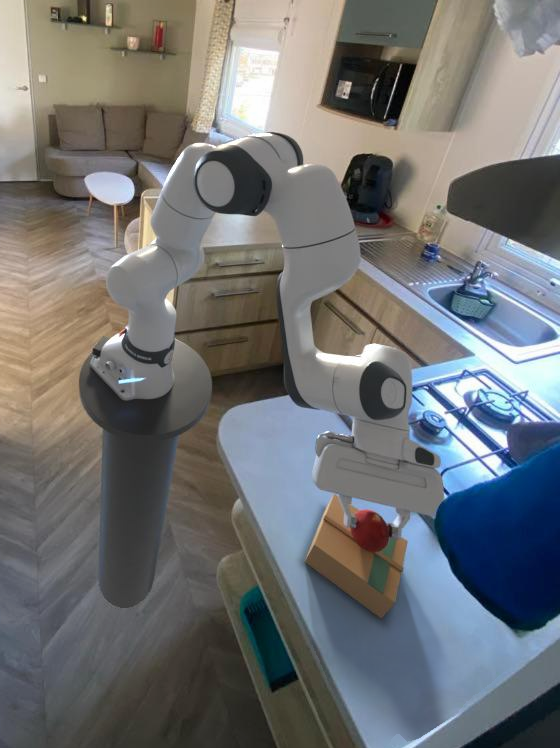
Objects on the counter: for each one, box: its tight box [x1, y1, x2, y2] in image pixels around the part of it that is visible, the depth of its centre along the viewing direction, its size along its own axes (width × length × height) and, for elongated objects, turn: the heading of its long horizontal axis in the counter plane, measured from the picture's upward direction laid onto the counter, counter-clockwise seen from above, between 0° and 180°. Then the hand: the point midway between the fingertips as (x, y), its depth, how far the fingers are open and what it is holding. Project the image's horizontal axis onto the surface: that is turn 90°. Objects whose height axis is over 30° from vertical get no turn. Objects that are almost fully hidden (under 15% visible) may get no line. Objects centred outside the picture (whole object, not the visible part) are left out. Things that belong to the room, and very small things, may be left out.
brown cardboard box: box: [304, 493, 408, 619], centre depth 73 cm, size 13×11×6 cm
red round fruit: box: [350, 509, 389, 552], centre depth 69 cm, size 6×6×8 cm
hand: (371, 532), depth 68 cm, fingers closed on red round fruit, 5 cm apart
